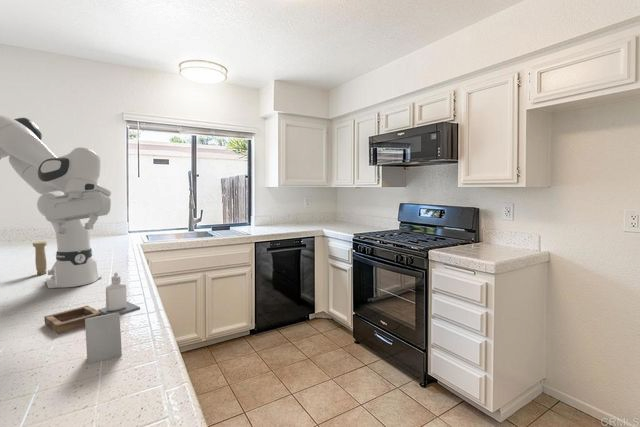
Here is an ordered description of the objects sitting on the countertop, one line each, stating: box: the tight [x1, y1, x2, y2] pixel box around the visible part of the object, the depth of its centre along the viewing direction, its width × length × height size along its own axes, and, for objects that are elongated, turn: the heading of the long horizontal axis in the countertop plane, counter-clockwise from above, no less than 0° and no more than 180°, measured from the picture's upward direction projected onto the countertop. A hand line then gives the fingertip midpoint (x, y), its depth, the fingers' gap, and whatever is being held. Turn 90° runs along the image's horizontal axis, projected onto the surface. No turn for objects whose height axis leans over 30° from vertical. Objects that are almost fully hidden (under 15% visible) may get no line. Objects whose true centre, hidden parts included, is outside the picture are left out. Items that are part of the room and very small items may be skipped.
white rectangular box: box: [84, 313, 123, 365], centre depth 78 cm, size 4×7×10 cm, turn 125°
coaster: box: [97, 301, 141, 316], centre depth 108 cm, size 9×9×1 cm
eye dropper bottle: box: [105, 271, 128, 311], centre depth 107 cm, size 4×6×12 cm
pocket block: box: [43, 305, 103, 335], centre depth 98 cm, size 11×11×2 cm
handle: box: [32, 240, 48, 276], centre depth 152 cm, size 5×6×15 cm
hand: (74, 231), depth 105 cm, fingers open, 8 cm apart
